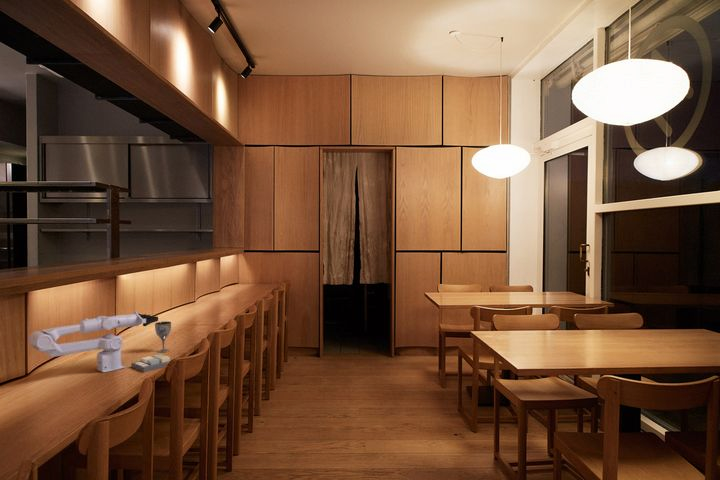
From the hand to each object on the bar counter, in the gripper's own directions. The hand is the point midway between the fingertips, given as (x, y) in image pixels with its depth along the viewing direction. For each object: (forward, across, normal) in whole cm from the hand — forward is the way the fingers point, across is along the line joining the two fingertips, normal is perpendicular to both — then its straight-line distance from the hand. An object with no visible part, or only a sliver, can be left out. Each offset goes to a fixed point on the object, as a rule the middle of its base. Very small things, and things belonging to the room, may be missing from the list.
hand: (154, 318), depth 224 cm
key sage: (-1, -7, +19) cm, 21 cm away
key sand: (-1, -12, +20) cm, 23 cm away
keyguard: (-4, -10, +21) cm, 24 cm away
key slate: (-6, -12, +20) cm, 24 cm away
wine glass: (+11, +12, +20) cm, 26 cm away
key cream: (-6, -7, +20) cm, 22 cm away
